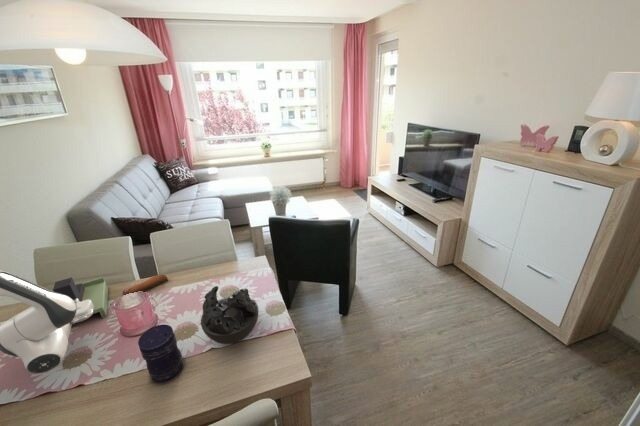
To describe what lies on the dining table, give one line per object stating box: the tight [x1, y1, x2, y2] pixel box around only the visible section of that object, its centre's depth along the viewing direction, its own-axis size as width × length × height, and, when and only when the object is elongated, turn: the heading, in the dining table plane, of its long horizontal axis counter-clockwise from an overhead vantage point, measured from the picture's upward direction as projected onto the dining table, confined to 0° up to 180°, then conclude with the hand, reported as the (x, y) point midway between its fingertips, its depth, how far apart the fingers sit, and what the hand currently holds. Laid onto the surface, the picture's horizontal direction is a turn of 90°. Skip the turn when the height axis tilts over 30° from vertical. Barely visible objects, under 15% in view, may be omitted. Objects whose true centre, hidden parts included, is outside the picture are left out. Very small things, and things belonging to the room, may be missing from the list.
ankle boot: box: [52, 277, 85, 302], centre depth 120 cm, size 5×15×12 cm, turn 33°
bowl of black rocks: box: [200, 285, 259, 345], centre depth 105 cm, size 20×20×19 cm
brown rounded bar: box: [122, 274, 169, 296], centre depth 136 cm, size 18×7×7 cm
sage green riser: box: [79, 276, 109, 319], centre depth 122 cm, size 20×22×7 cm
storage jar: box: [137, 324, 185, 385], centre depth 93 cm, size 10×10×15 cm
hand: (60, 305), depth 106 cm, fingers open, 8 cm apart
